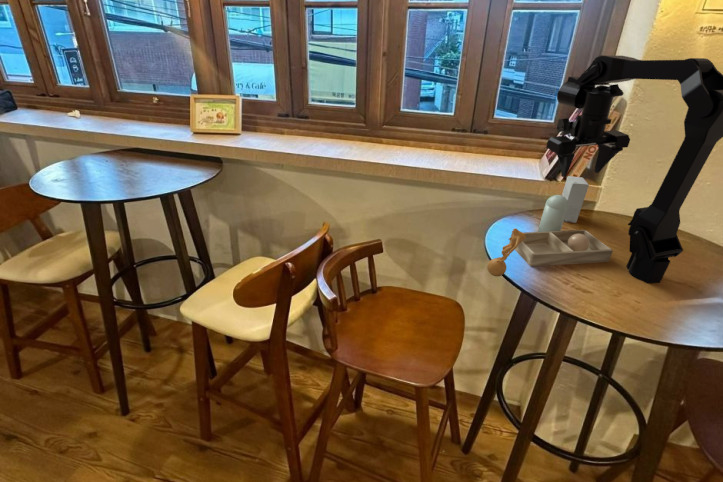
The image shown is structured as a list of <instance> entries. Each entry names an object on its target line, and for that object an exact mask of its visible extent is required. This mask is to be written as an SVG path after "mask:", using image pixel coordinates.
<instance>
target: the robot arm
mask: <svg viewBox="0 0 723 482" xmlns="http://www.w3.org/2000/svg"><path fill="white" fill-rule="evenodd" d="M631 80H658V81H659V80H661V81H662V80H663V81H666V80H667V81H678V83H679V84H680V93H681V98H682V100H683V101H684V103H685V104H686V106H687V110H686V114H685V116H684V117H685V118H684V121H683V128H684V138H683V141H682V143H681V144H680V146H679V149H678V150H677V153H676V155H675V157H674V159H673V160H672V162H671V165H670V167H669V168H668V171H667V173H666V175H665V177H664V179H663V181H662V183H661V185H660V186H659V188H658V191H657V193H656V195H655V197H654V198H653V201H652V202H651V204H650V205H649V206H646V207H640V208H639V207H638V208H636V209H635V211H634V212H633V216H632V219H631V220H630V222H629V223H628V224H627V225H628V226H629V228H628V235H629V249H628V250H629V252H630V253H631V254H630V256H629V259H628V260H627V263H626V266H625V267H626V269H627V271H628V274H629V275H630V276H632V277H633V278H634V279H636V280H638V281H642V282H644V283H645V284H648V285H649V284H660V283H661V282H662V279H663V277H664V276H665V273H666V271H667V270H668V268H669V265H670V263H671V260H670V259H669V258H674V257H675V258H676V257H678V256H679V255H680V254H682V253H683V251H684V248H683V246H682V244H681V242H680V238H679V236H678V230H679V228H680V225H681V215H680V210H681V208H682V206H683V204H684V202H685V201H686V198H687V197H688V195H689V193H690V191H691V189H692V187H693V186H694V184H695V182H696V181H697V179H698V177H699V174H701V171H702V169H703V168H704V166H705V164H706V162H707V161H708V158H709V157H710V154H711V153H712V151H713V149H714V147H715V145H716V144H717V143H718V142H719V141H720V140H721V139H722V138H723V73H721V71H719V70H718V69H717V67H716V66H715V64H714V63H713V62H712V61H711V60H710V59H708V58H705V57H704V58H702V57H695V58H694V57H693V58H692V57H691V58H685V59H657V60H656V59H655V60H653V59H652V60H651V59H650V60H648V59H647V60H646V59H645V60H644V59H637V58H635V57H631V56H625V55H610V54H609V55H604V54H603V55H597V56H596V57H595V58H594V60H593V61H592V62H591V64H590V65H589V66H588V67H587V68H586V70H585V71H584V72H583V73H581V75H580V76H568V78H567V81H566V82H564V83H563V84H562V85H561V86H560V88H559V89H558V90H557V93H556V94H557V95H556V99H557V100H556V101H557V102H558V103H559V104H560V105H564V106H567V107H570V108H575V109H577V110H578V109H579V110H581V109H582V111H581V113H580V114H579V115H578V114H577V116H576V118H575V121H573V120H572V121H570V119H569V117H567V118H561V119H560V118H559V119H558V120H557V124H556V131H557V132H558V133H561V132H562V135H557V136H551V137H549V138H548V140H547V142H546V148H547V149H548V150H550V151H551V152H552V153H555V155H556V156H557V158H558V159H557V160H558V163H559V169H560V173H561V177H562V178H567V174H568V173H569V172H570V171H569V170H570V167H571V165H572V163H573V161H574V158H575V154H574V152H575V151H576V149H577V148H580V147H581V148H582V147H587V146H598V154H597V157H596V161H595V165H594V170H593V171H594V173H595V174H599V173H600V172H601V171H602V170H603V168H604V167H605V166H606V165H607V164H608V163H610V161H611V160H612V159H613V158H614V157H615V156H616V155H617V154H618V153H619V152H622V151H623V150H624V149H625V148H628V147H629V145H630V142H631V138H630V136H629V134H627V133H624V132H622V131H620V130H618V129H617V130H616V129H614V130H613V129H612V130H606V126H607V125H610V124H611V123H612V119H611V118H609V116H610V111H611V108H612V104H613V100H614V98H616V97H622V96H623V95H625V93H624V91H623V90H622V88H620V86H619V84H618V83H622V82H624V83H625V82H629V81H631ZM613 83H614V84H613ZM609 84H610V85H609ZM607 85H609V86H607ZM568 134H569V135H570V137H572V138H574V139H572V138H569V137H568V136H567V135H568Z"/></svg>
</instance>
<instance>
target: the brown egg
mask: <svg viewBox="0 0 723 482" xmlns="http://www.w3.org/2000/svg"><path fill="white" fill-rule="evenodd" d="M568 247H569V248H570V249H571V250H573V251H586V250H587V249H588V247H589V239H588V238H587V237H586V236H585V235H583V234H574V235H572V236H571V237H570V238H569V239H568Z"/></svg>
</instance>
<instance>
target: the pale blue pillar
mask: <svg viewBox="0 0 723 482" xmlns="http://www.w3.org/2000/svg"><path fill="white" fill-rule="evenodd" d="M567 210H568V201H567V199H566V198H565V197H563V196H562V194H554V195H552V196H550V197H549V198H548V199H547V200H546V202H545V204H544V208H543V211H542V215H541V219H540V223H539V226H538V229H537V232H546V231H562V227H563V225H564V219H565V216H566V213H567Z"/></svg>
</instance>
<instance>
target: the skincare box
mask: <svg viewBox="0 0 723 482" xmlns="http://www.w3.org/2000/svg"><path fill="white" fill-rule="evenodd" d="M589 186H590V185H589V183H588V181H586V179H585V178H584V177H581V176H572V175H568V176H566V180H565V184H564V188H563V190H562V193H561V196H563V197H565V198H566V199H567V201H568V210H567V213H566V216H565V219H564V222H565V223H572V224H573V223H574V224H576V223H577V222H578V218H579V216H580V213H581V209H582V208H583V207H582V206H583V204H584V201H585V198H586V195H587V192H588V189H589ZM564 222H563V223H564Z"/></svg>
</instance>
